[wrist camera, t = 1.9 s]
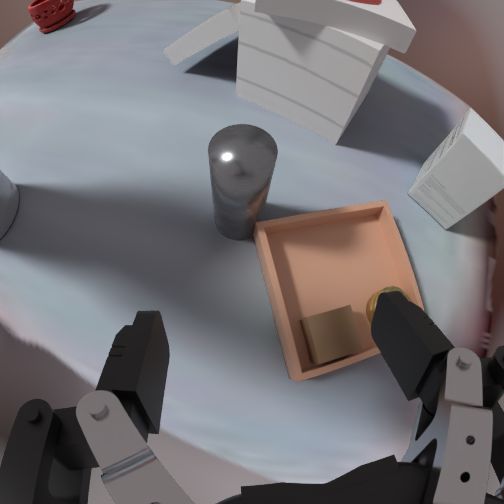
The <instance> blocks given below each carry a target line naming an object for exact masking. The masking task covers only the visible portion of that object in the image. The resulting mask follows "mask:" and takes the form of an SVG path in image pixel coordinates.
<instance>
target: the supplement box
mask: <svg viewBox="0 0 504 504" xmlns="http://www.w3.org/2000/svg"><path fill="white" fill-rule="evenodd" d="M503 188H504V141H503V140H502V139H501V138H500V136H498V134H497V133H496V132H495V131H494V130H493V129H492V128H491V127H490V126H489V125H488V124H487V123H486V122H485V121H484V120H483V119H482V118H481V117H480V116H479V115H478V114H477V113H476V112H475V111H473V110H472V109H471V108H470V109H469V110H468V112H467V113H466V114H465V115H464V117H463V118H462V119H461V120H460V122H459V123H458V124H457V125H456V126H455V128H454V129H453V130H452V131H451V133H450V134H449V135H448V136H447V137H446V138H445V140H444V141H443V142H442V143H441V144H440V145H439V146H438V148H437V149H436V150H435V151H434V152H433V153H432V154H431V155H430V156H429V158H428V159H427V160H426V161H425V162H424V163H423V166H422V168H421V170H420V171H419V173H418V175H417V177H416V179H415V181H414V183H413V185H412V187H411V189H410V190H409V192H408V195H409V196H410V197H412V198H413V199H414V200H415V201H416V202H417V203H418V204H419V205H421V206H422V207H423V208H424V209H425V210H426V211H427V212H428V213H429V214H430V215H431V216H432V217H433V218H434V219H435V220H436V221H437V222H438V223H439V224H441V225H442V226H443V227H444V228H445V229H446V230H447V229H448V228H450V227H451V226H453V225H454V224H455V223H457V222H458V221H460V220H461V219H463V218H464V217H465V216H467V215H468V214H470V213H471V212H472V211H474V210H475V209H477V208H478V207H479V206H481V205H482V204H483V203H485V202H486V201H488V200H489V199H490V198H492V197H493V196H494V195H495V194H497V193H498V192H499V191H500V190H502V189H503Z"/></svg>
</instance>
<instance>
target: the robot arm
mask: <svg viewBox="0 0 504 504" xmlns="http://www.w3.org/2000/svg"><path fill="white" fill-rule="evenodd" d="M18 205H19V191H18V188H17V187H16V186H15V184H14V183H13V182H12V181H11V180H10V179H9V178H8V177H7V176H6V175H5V174H4V173H3V172H2V171H1V170H0V239H1V238H2V237H3V236H4V234H5V233H6V232H7V231H8V229H9V227H10V226H11V224H12V222H13V220H14V218H15V215H16V212H17V209H18ZM371 336H372V339H373V341H374V342H375V344H376V346H377V347H378V349H379V351H380V352H381V354H382V356H383V357H384V359H385V361H386V363H387V364H388V366H389V368H390V369H391V371H392V373H393V375H394V376H395V378H396V380H397V382H398V383H399V385H400V387H401V389H402V390H403V392H404V394H405V396H406V398H407V399H408V401H410V400H413V399H415V398H418V397H420V399H421V400H422V401H421V403H420V404H419V407H418V411H417V416H416V421H415V425H414V429H413V433H412V437H411V441H410V444H409V447H408V449H407V451H406V453H405V455H404V457H403V459H402V461H401V462H397V461H396V458H395V456H394V455H391V456H389V457H386V458H383V459H380V460H377V461H374V462H371V463H368V464H364V465H361V466H359V467H357V468H356V469H354V470H352V471H350V472H348V473H346V474H344V475H342V476H341V477H339V478H337V479H335V480H332V481H330V482H328V483H325V484H300V483H283V482H282V483H274V484H265V485H255V486H241V494H239V495H235V496H232V497H230V498H227V499H225V500H223V501H220V502H219V503H217V504H504V412H503V410H502V408H501V407H500V405H499V403H498V400H499V399H500V398H501V396H502V395H503V394H504V346H500V347H498V348H497V349H496V351H495V353H494V355H493V356H492V358H479V357H478V356H477V355H476V354H475V353H474V352H473V351H471V350H469V349H467V348H463V347H457V348H455V347H454V346H453V345H452V344H451V342H450V341H449V340H448V339H447V338H446V336H445V335H444V334H443V333H442V332H441V330H440V329H439V328H438V327H437V326H436V325H434V322H433V321H432V320H431V319H430V318H428V315H427V314H426V313H425V312H424V311H423V309H422V308H421V307H419V306H417V305H416V304H414V303H413V302H411V301H408V299H407V298H406V297H405V296H404V295H403V294H402V293H401V292H400V291H391V292H383V293H380V294H379V296H378V299H377V303H376V308H375V312H374V315H373V319H372V323H371ZM169 355H170V354H169V344H168V340H167V336H166V332H165V328H164V325H163V321H162V317H161V313H160V312H159V311H138V312H137V314H136V317H135V320H134V322H133V325H125V326H124V327H123V328H122V329H121V330H120V331H119V332H118V333H117V335H116V337H115V339H114V342H113V344H112V348H111V349H110V352H109V357H107V360H106V363H105V365H104V368H103V371H102V374H101V376H100V379H99V382H98V385H97V388H96V390H95V391H93V392H90V393H88V394H87V395H85V396H84V397H83V398H82V399H81V400H80V401H79V403H78V405H77V406H76V407H70V408H63V409H56V410H53V409H52V408H51V406H50V405H49V404H48V403H47V402H46V401H44V400H41V399H33V400H30V401H28V402H26V403H25V404H24V405H23V406H22V407H21V408H20V410H19V412H18V414H17V417H16V419H15V422H14V425H13V428H12V430H11V433H10V436H9V440H8V443H7V446H6V449H5V452H4V456H3V459H2V463H1V467H0V504H87V503H88V492H89V484H90V476H91V469H92V468H95V467H100V468H101V469H102V472H103V475H101V478H102V481H103V483H104V485H105V487H106V489H107V491H108V492H109V494H110V496H111V497H112V499H113V501H114V502H115V504H195V503H194V502H193V501H192V500H191V499H190V497H189V496H188V495H187V494H186V493H185V492H184V491H183V489H182V488H181V487H180V486H179V485H178V484H177V482H176V481H175V480H174V479H173V478H172V476H171V475H170V474H169V473H168V471H167V470H166V469H165V468H164V466H163V465H162V464H161V462H160V461H159V460H158V459H157V457H156V456H155V454H154V453H153V452H152V450H151V449H150V448H149V446H148V445H147V439H148V433H151V434H159V428H160V419H161V412H162V404H163V397H164V390H165V383H166V377H167V370H168V364H169ZM490 462H491V464H492V466H493V468H494V470H495V473H496V475H497V477H498V480H499V482H500V484H501V487H500V488H499V489H498V490H497V491H496V493H495V496H493V495H490V494H488V493H486V489H487V483H488V477H489V469H490Z"/></svg>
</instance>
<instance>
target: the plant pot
mask: <svg viewBox="0 0 504 504" xmlns="http://www.w3.org/2000/svg"><path fill="white" fill-rule="evenodd" d="M73 4H74V0H62V2H60V0H35V1H34V2H32V3H31V4H30V5H29V7H28V10H29V13H30V15H31V17H32V19H33V20H34V22H35V23H36V24H37V25H38V26H40V29H39V31H40V32H42V33H47V32H50V31H53V30H55V29H57V28H59V27H61V26H63V25H64V24H66V23H67V22H69V21H70V20H71V19H72V18H73V17H74V15H75V13H76V12H75V10H72V9H73ZM53 5H55V6H54V7H52V6H53Z"/></svg>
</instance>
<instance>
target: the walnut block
mask: <svg viewBox="0 0 504 504" xmlns="http://www.w3.org/2000/svg"><path fill="white" fill-rule="evenodd" d="M300 323H301V327H302V331H303V335H304V338H305V342H306V346H307V350H308V354H309V358H310V362H311V363H315V364H321V363H324V362H327V361H330V360H333V359H336V358H339V357H342V356H345V355H348V354H351V353H353V352H356V351H359V350H362V346H361V342H360V338H359V334H358V331H357V327H356V323H355V319H354V316H353V312H352V308H351V305H347V306H344V307H341V308H337V309H334V310H330V311H327V312H323V313H320V314H316V315H313V316H309V317H306V318H303V319H301V320H300Z"/></svg>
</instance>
